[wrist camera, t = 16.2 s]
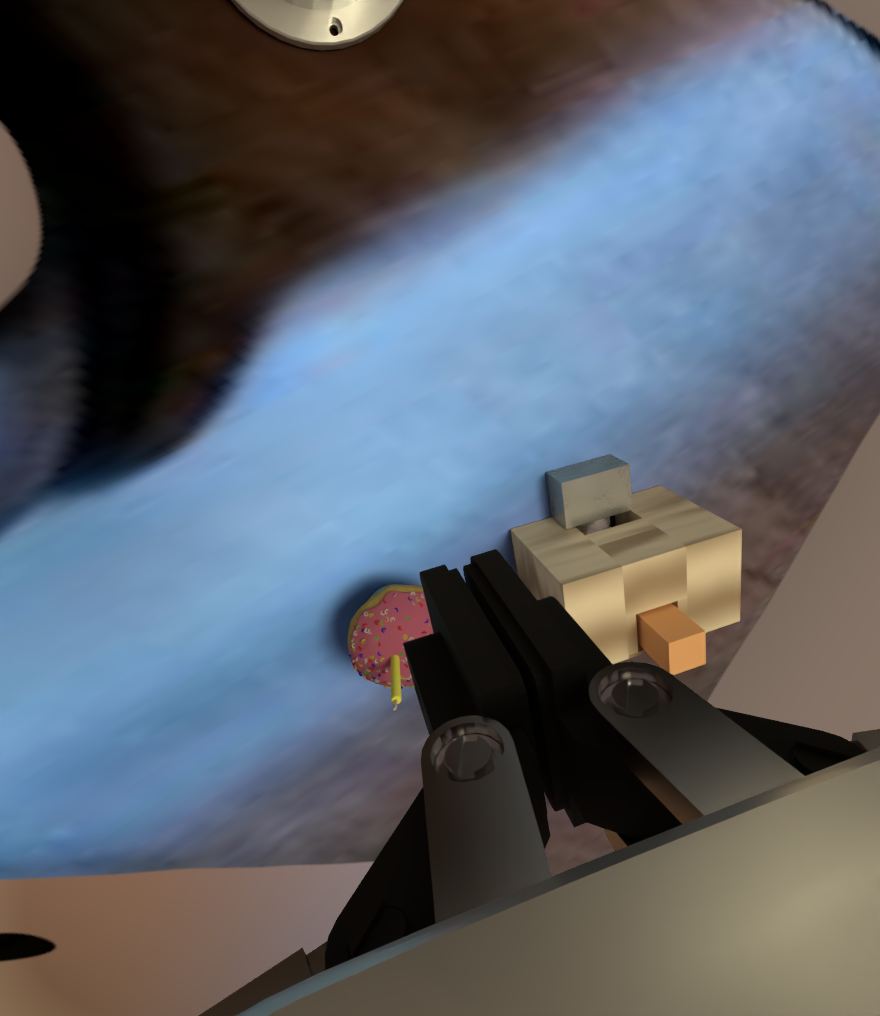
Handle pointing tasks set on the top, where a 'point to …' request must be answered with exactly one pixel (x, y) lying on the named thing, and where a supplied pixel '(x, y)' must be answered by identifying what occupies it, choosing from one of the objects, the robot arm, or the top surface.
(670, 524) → the block
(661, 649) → the plunger
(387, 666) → the cupcake
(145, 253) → the top surface
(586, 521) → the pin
